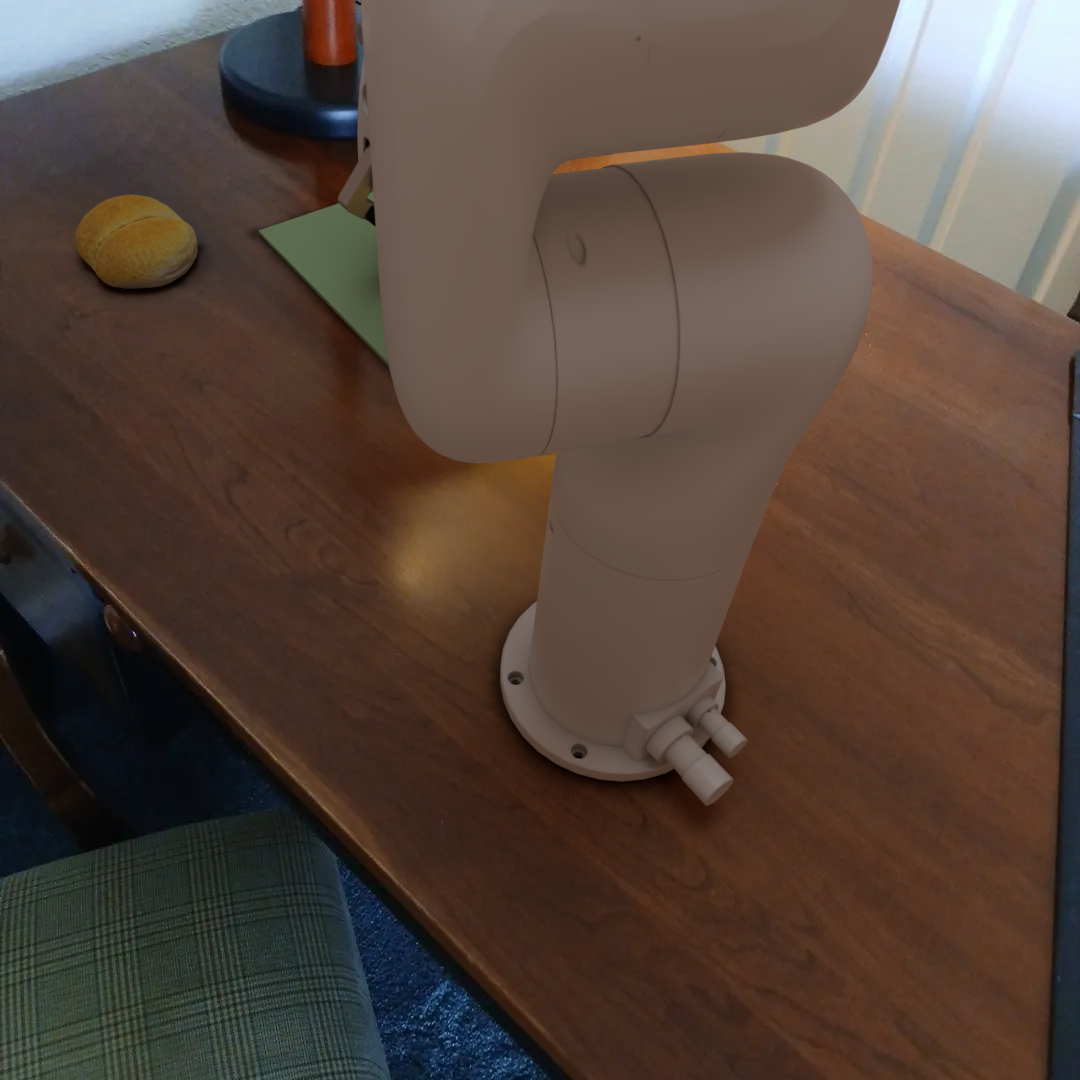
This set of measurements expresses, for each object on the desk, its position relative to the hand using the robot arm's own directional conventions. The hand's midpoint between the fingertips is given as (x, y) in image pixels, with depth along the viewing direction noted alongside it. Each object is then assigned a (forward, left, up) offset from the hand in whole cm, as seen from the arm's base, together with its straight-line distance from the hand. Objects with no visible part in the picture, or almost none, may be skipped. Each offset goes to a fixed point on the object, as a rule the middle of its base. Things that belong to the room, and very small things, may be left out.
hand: (430, 258), depth 81 cm
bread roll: (+13, +18, -1) cm, 22 cm away
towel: (0, 0, -1) cm, 1 cm away
